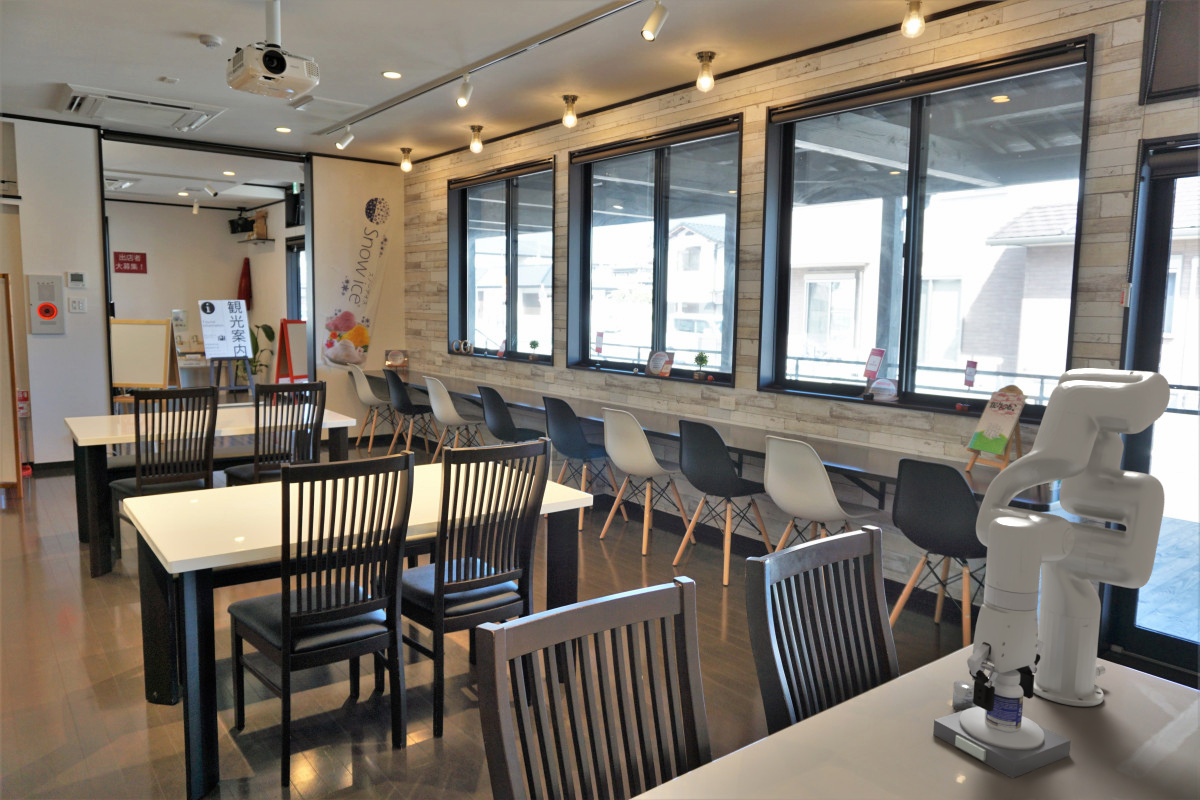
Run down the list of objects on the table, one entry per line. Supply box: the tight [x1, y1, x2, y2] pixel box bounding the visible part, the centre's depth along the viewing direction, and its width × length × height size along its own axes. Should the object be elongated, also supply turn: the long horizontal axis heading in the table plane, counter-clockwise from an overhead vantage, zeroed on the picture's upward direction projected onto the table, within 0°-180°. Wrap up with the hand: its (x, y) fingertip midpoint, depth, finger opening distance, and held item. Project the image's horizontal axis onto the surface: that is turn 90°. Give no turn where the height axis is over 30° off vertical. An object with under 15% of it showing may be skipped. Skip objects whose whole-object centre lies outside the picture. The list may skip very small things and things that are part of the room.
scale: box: [932, 706, 1071, 779], centre depth 127 cm, size 14×14×3 cm
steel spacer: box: [951, 680, 977, 712], centre depth 140 cm, size 4×4×4 cm
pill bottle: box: [985, 669, 1024, 732], centre depth 127 cm, size 5×5×9 cm
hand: (1003, 701), depth 127 cm, fingers open, 9 cm apart
